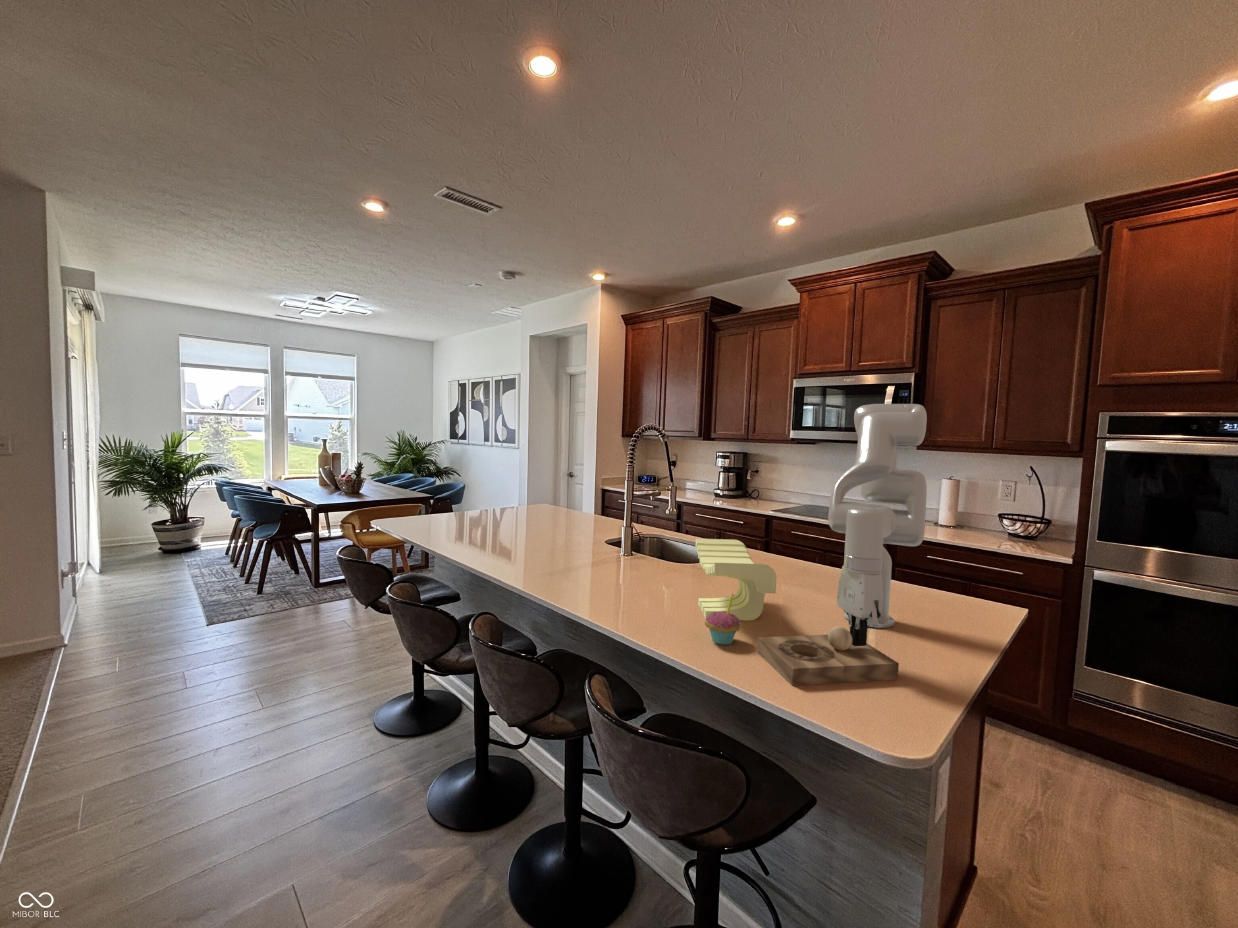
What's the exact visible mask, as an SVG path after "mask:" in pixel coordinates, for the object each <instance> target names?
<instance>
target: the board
mask: <svg viewBox="0 0 1238 928" xmlns="http://www.w3.org/2000/svg"><path fill="white" fill-rule="evenodd" d="M757 653H758V654H759V655H760V656H761V657H762V658H763V659H764V660H765V661H766V662H767V663H768V664H769V665H770V666H771V667H772V669H774V670H775V671H776V672H778V674H780V676H782V677H783V678H784V680H786V681H787V682H788V683H789V684H790V685H791V686H805V685H807V686H809V685H822V684H842V683H843V684H845V683H859V682H878V681H879V682H880V681H894V680H895V681H896V680H898V679H899V667H900V666H899V665H900V663H899V662H897V661H896V660H894V659H893V658H891V657H890V656H888V655H886V654H884V653H883V652H881V651H880V650H879V649H877V648H875V647H874V646H872V645H870V644H869V643H866V646H853V645H852V644H851V646H850V647H849V648H848V649H846V650H837V649H835V648H833V647H832V646H831V645H830V643H829V641H828V634H811V635H808V634H807V635H788V636H785V635H784V636H783V635H782V636H762V637H761V636H760V637H757Z"/></svg>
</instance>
